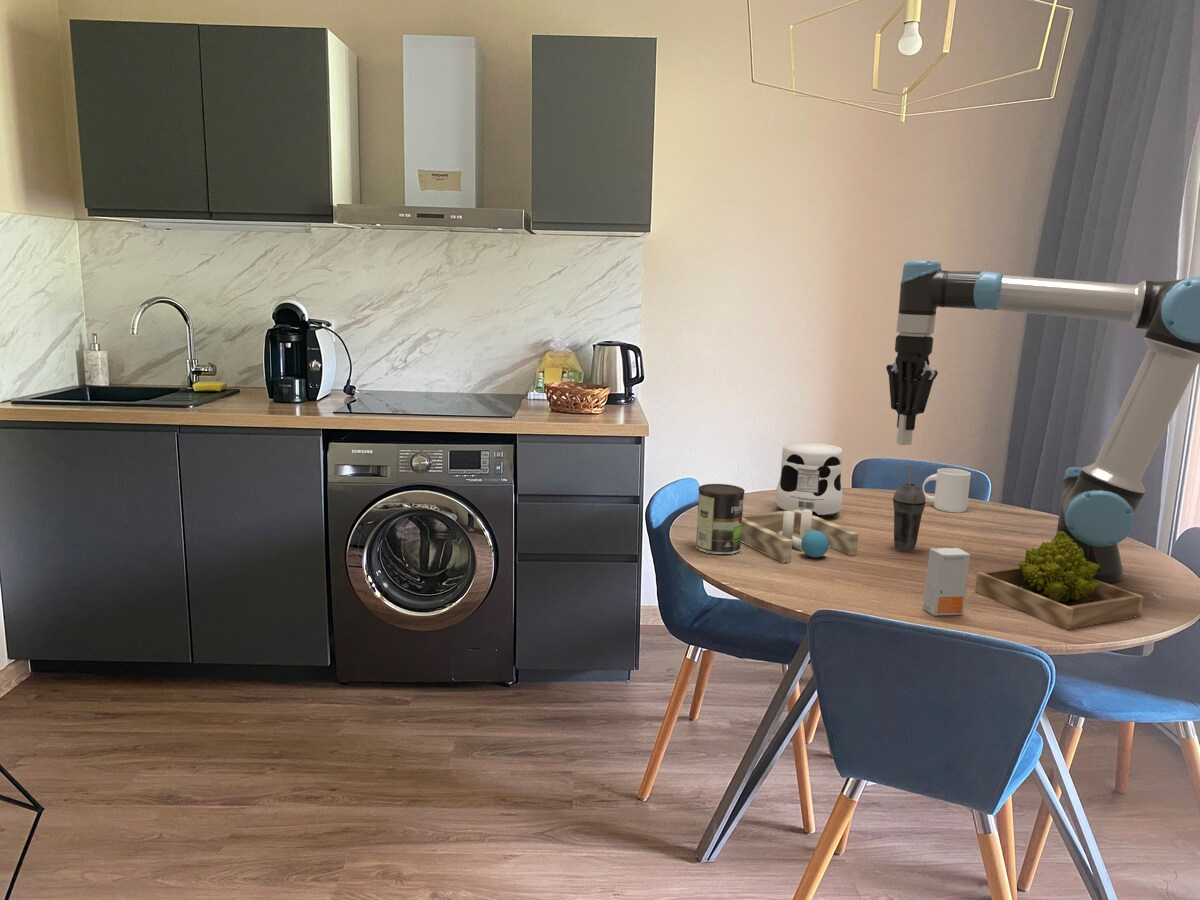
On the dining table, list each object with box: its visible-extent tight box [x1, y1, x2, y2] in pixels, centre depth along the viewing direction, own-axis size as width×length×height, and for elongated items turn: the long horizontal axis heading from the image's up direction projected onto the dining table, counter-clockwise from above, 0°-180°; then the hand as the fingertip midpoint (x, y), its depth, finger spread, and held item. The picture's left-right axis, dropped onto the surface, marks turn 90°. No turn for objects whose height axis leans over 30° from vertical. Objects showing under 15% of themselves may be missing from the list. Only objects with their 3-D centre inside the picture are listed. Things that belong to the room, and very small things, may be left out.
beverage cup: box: [892, 465, 927, 553], centre depth 202 cm, size 7×7×20 cm
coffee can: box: [695, 483, 746, 555], centre depth 198 cm, size 10×10×14 cm
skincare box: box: [922, 547, 971, 617], centre depth 163 cm, size 6×4×12 cm
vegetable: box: [1017, 531, 1101, 603], centre depth 172 cm, size 15×16×15 cm
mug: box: [922, 467, 972, 513], centre depth 243 cm, size 9×12×11 cm
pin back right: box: [798, 509, 812, 540], centre depth 203 cm, size 2×2×8 cm
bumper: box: [741, 509, 859, 564], centre depth 203 cm, size 22×20×5 cm
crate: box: [974, 566, 1144, 630], centre depth 171 cm, size 21×20×4 cm
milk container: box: [775, 441, 844, 518], centre depth 232 cm, size 17×17×18 cm
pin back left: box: [782, 511, 794, 540], centre depth 201 cm, size 2×2×8 cm
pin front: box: [778, 531, 803, 552], centre depth 203 cm, size 2×2×8 cm
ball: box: [801, 531, 830, 559], centre depth 195 cm, size 6×6×6 cm
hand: (903, 444), depth 190 cm, fingers closed
